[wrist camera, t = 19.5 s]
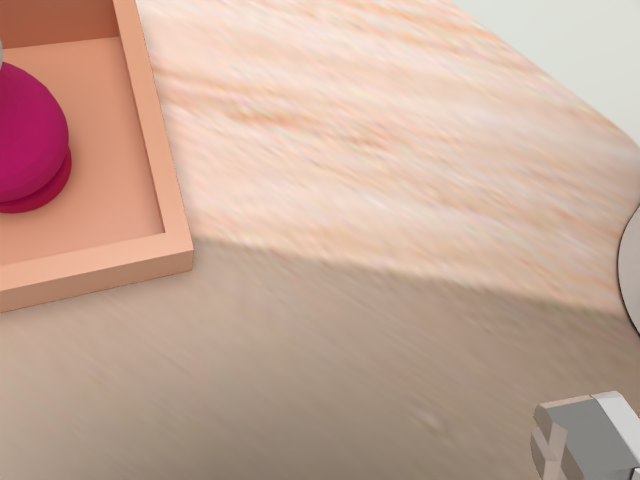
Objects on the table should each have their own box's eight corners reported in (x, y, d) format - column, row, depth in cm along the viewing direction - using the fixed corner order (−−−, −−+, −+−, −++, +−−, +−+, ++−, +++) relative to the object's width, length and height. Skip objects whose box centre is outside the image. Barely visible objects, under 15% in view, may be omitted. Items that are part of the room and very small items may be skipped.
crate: (134, 26, 40) (127, -33, 34) (191, 270, 37) (193, 249, 31) (-160, 58, 35) (-226, -5, 29) (-121, 339, 32) (-186, 330, 26)
